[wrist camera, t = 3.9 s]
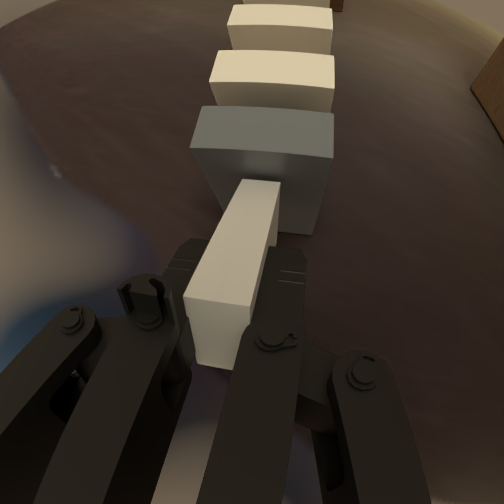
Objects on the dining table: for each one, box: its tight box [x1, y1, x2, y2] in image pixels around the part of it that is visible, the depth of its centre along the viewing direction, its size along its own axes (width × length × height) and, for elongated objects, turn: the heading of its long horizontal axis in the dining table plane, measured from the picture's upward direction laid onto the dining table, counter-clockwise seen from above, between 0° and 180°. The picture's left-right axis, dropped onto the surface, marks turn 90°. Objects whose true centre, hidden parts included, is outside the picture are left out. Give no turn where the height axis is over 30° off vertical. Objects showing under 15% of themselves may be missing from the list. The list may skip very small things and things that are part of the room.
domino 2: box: [209, 50, 335, 113], centre depth 15 cm, size 2×5×9 cm, turn 83°
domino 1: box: [190, 106, 334, 235], centre depth 15 cm, size 2×5×9 cm, turn 82°
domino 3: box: [227, 4, 333, 55], centre depth 16 cm, size 2×5×9 cm, turn 82°
